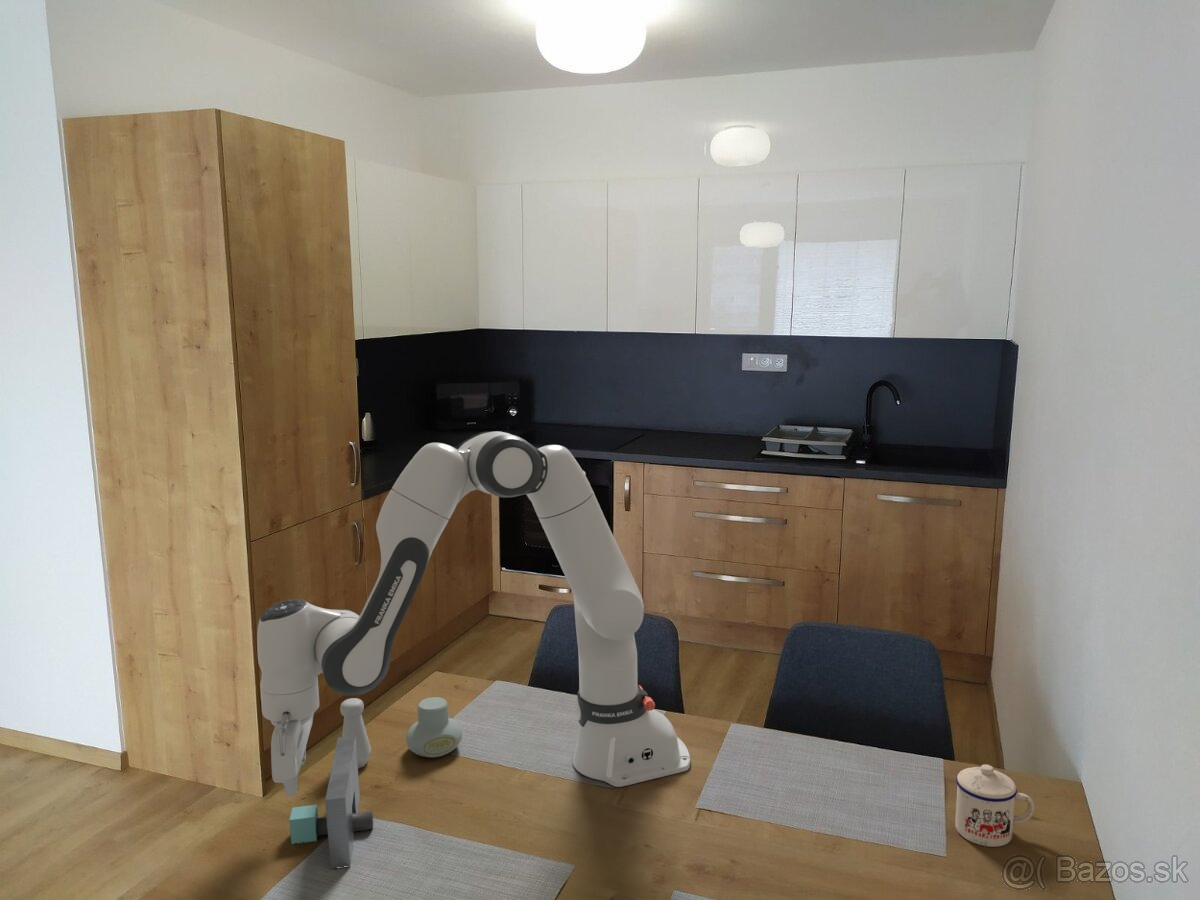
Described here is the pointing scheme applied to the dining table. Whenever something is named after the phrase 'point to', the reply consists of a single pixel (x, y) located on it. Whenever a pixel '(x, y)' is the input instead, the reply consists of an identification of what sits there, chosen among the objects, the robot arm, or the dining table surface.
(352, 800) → the block
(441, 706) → the air freshener
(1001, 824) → the teacup with lid
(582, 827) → the dining table surface
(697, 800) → the dining table surface
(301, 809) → the plug
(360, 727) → the salt shaker
